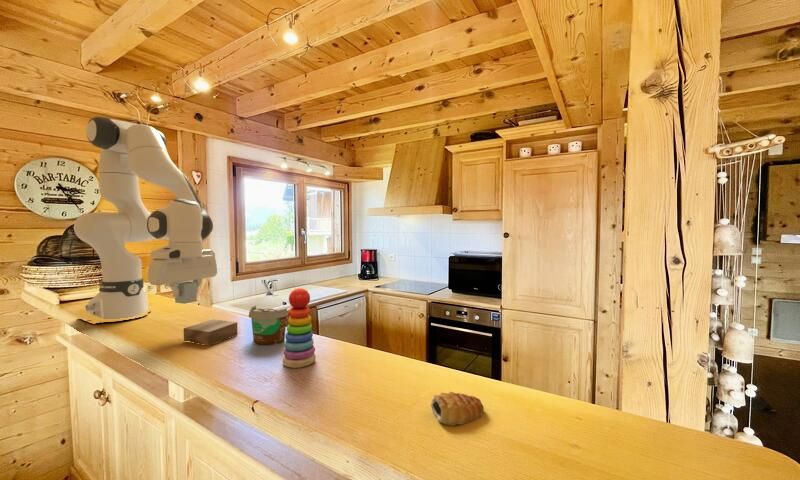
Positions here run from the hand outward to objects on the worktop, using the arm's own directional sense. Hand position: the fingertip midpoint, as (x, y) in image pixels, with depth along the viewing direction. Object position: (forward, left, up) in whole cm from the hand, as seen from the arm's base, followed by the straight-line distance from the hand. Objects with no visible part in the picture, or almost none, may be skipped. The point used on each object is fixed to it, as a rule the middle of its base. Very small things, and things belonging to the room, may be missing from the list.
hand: (185, 295), depth 100 cm
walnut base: (+10, 0, -13) cm, 16 cm away
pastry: (+87, -16, -13) cm, 89 cm away
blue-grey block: (0, 0, -2) cm, 2 cm away
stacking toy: (+46, -6, -13) cm, 48 cm away
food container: (+28, +2, -13) cm, 31 cm away
